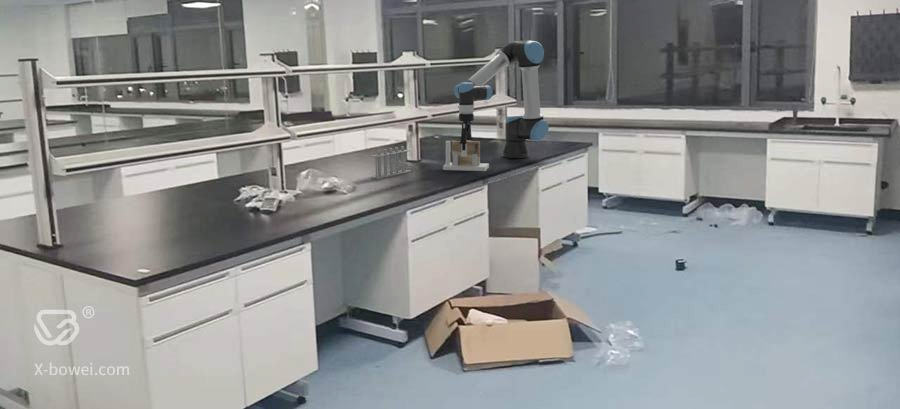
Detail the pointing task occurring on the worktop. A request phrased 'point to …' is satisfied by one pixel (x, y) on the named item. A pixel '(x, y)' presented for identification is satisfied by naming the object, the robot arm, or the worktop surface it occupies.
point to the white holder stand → (463, 167)
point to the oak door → (472, 148)
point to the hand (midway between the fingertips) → (466, 154)
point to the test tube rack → (390, 162)
